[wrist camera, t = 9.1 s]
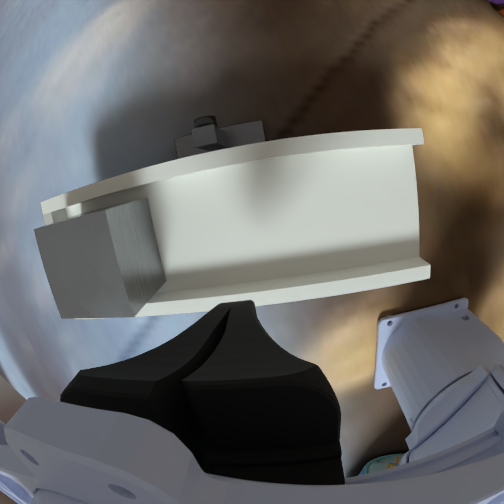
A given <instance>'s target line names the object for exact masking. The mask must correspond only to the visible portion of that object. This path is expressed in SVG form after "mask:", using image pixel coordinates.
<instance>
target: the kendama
mask: <svg viewBox="0 0 504 504" xmlns="http://www.w3.org/2000/svg"><path fill="white" fill-rule="evenodd" d="M487 1H489V2H492V3H494V4H499V5H504V0H487ZM498 12H499V13H500V14H501V15H502V16H504V6H503V7H502V8H501V9H499V10H498Z"/></svg>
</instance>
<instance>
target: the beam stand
mask: <svg viewBox="0 0 504 504" xmlns="http://www.w3.org/2000/svg"><path fill="white" fill-rule="evenodd" d="M194 125H195V128H194V129H191V131H192V134H191V135H187V136H183V137H179V138H175V145H176V151H177V156H178V159H180V158H185V157H189V156H193V155H198V154H202V153H207V152H212V151H216V150H221V149H226V148H232V147H237V146H242V145H248V144H254V143H260V142H265V136H264V131H263V125H262V121H255V122H249V123H244V124H238V125H233V126H228V127H223V128H218V127H217V122H216V116H204V117H200V118H197V119H195V120H194Z"/></svg>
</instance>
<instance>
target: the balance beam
mask: <svg viewBox="0 0 504 504" xmlns="http://www.w3.org/2000/svg"><path fill="white" fill-rule="evenodd" d="M418 144H424V139H423V133H422V128H414V129H381V130H363V131H350V132H338V133H327V134H318V135H309V136H301V137H293V138H286V139H279V140H272V141H266V142H260V143H254V144H248V145H242V146H237V147H232V148H226V149H221V150H216V151H212V152H207V153H202V154H198V155H193V156H189V157H185V158H180V159H176V160H172V161H168V162H164V163H160V164H157V165H153V166H149V167H145V168H142V169H138V170H135V171H131V172H128V173H124V174H121V175H118V176H115V177H111V178H108V179H105V180H102V181H99V182H96V183H93V184H90V185H87V186H84V187H81V188H78V189H75V190H73V191H70V192H67V193H64V194H62V195H59V196H56V197H54V198H51V199H48V200H46V201H43V202H41V206H42V211H43V216H44V220H45V225H48V224H51V223H54V222H57V221H60V220H63V219H66V218H69V217H72V216H75V215H78V214H81V213H85V212H89V211H92V210H96V209H100V208H104V207H108V206H112V205H116V204H120V203H124V202H129V201H133V200H137V199H142V198H146V197H148V202H149V207H150V212H151V217H152V221H153V226H154V231H155V235H156V240H157V244H158V249H159V253H160V257H161V261H162V265H163V269H164V273H165V277H166V282H165V283H164V284H163V285H162V286H161V288H160V289H159V290H158V291H157V292H156V293H155V294H154V295H153V296H152V298H151V299H150V300H149V301H148V302H147V303H146V304H145V305H144V307H143V308H142V309H141V310H140V311H139V312H138V313H137V315H136V316H135V317H139V316H155V315H169V314H181V313H193V312H204V311H210V310H211V309H213V308H214V307H215V306H217V305H218V304H220V303H226V302H235V301H244V300H252V301H253V302H254V303H255V306H261V305H270V304H278V303H285V302H293V301H300V300H307V299H314V298H321V297H328V296H335V295H341V294H347V293H353V292H359V291H365V290H371V289H377V288H383V287H388V286H394V285H399V284H404V283H409V282H414V281H420V280H424V279H429V278H430V268H431V265H430V264H429V263H428V262H426V261H425V260H423V259H422V258H421V257H419V214H418V197H417V184H416V174H415V165H414V157H413V149H412V145H418ZM119 318H121V317H119ZM75 319H98V318H75Z"/></svg>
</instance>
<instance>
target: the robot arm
mask: <svg viewBox="0 0 504 504" xmlns="http://www.w3.org/2000/svg"><path fill="white" fill-rule="evenodd" d="M468 303H469V302H468V299H467V298H460V299H457V300H453V301H450V302H446V303H442V304H438V305H435V306H431V307H427V308H423V309H419V310H414V311H410V312H406V313H401V314H397V315H392V316H388V317H383V318H381V319H380V320H379V321H378V329H377V349H376V364H375V375H374V387H375V389H381V388H385V387H389V386H391V387H392V389H393V391H394V393H395V395H396V398H397V400H398V402H399V404H400V406H401V409H402V411H403V413H404V415H405V417H406V420H407V422H408V424H409V427H410V429H411V431H412V432H411V434H410V435H409V436H408V437H407V438H406V439H405V440H406V443H407V445H408V448H409V451H408V452H407V453H405V454H404V456H403V457H402V459H401V463H400V465H399V466H396V467H392V468H388V469H385V470H381V471H377V472H373V473H369V474H364V475H360V476H355V477H350V478H344V472H343V467H342V461H341V455H342V453H341V446H340V441H339V439H340V424H341V411H340V406H339V403H338V400H337V397H336V395H335V393H334V391H333V389H332V387H331V385H330V383H329V382H328V380H327V378H326V377H325V375H324V374H323V372H322V371H321V369H320V368H319V366H317V365H316V364H313V363H310V362H307V361H305V360H302V359H299V358H297V357H295V356H293V355H291V354H290V353H288V352H287V351H285V350H284V349H283V348H281V347H280V346H279V345H278V344H277V343H276V342H275V341H274V340H273V339H272V338H271V337H270V336H269V335H268V334H267V332H266V331H265V330H264V328H263V327H262V325H261V324H260V322H259V320H258V318H257V315H256V309H255V303H254V302H253V301H252V300H244V301H235V302H226V303H220V304H218V305H217V306H215V307H214V308H213V309H211V310H210V311H209V312H208V313H207V314H205V315H204V316H203V317H202V318H200V319H199V320H198V321H197V322H196V323H194V324H193V325H191V326H190V327H189V328H187V329H186V330H185V331H183V332H182V333H180V334H179V335H177V336H176V337H174V338H173V339H171V340H169V341H168V342H166V343H164V344H162V345H160V346H158V347H156V348H154V349H152V350H150V351H147V352H145V353H143V354H141V355H138V356H136V357H133V358H130V359H127V360H124V361H121V362H117V363H114V364H110V365H106V366H101V367H96V368H91V369H85V370H80V371H79V372H78V373H77V375H76V376H75V377H74V379H73V380H72V381H71V382H70V383H69V385H68V386H67V387H66V388H65V390H64V391H63V392H62V394H61V398H60V402H59V401H55V400H51V399H47V398H43V397H33V398H28V400H27V401H26V402H25V403H24V404H23V405H22V407H21V408H20V409H19V410H18V411H17V412H16V414H15V415H14V416H13V417H12V419H10V421H9V422H8V423H7V424H6V426H5V424H4V423H3V422H2V421H1V420H0V490H1V491H2V492H4V493H5V494H6V495H7V496H9V497H10V498H12V499H13V500H14V501H16V502H17V503H19V504H504V343H503V341H502V340H501V339H500V338H499V336H497V335H496V334H495V333H494V332H493V331H492V330H491V329H490V328H489V327H488V326H487V325H486V324H484V323H483V322H482V321H481V320H480V319H479V318H478V317H477V316H476V315H474V314H473V313H472V312H471V311H470V310H469V309H468ZM456 304H457V305H456ZM455 305H456V306H455ZM389 321H391V322H390V323H389V324H387V323H388V322H389ZM383 383H384V384H383Z"/></svg>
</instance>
